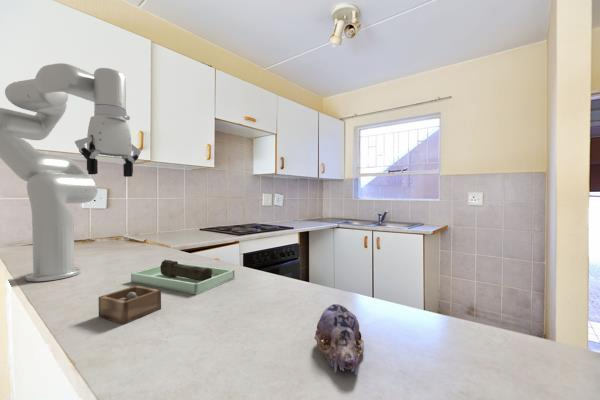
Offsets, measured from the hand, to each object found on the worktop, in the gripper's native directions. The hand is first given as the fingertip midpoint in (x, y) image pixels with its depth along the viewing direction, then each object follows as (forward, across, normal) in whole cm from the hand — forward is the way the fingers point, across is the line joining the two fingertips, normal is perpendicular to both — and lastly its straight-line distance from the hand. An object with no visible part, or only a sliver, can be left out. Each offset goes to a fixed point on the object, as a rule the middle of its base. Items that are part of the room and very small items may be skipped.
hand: (111, 175), depth 80 cm
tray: (+30, -9, +18) cm, 36 cm away
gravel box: (+30, +12, +26) cm, 42 cm away
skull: (+31, +9, +70) cm, 77 cm away
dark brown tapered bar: (+30, -8, +18) cm, 36 cm away
